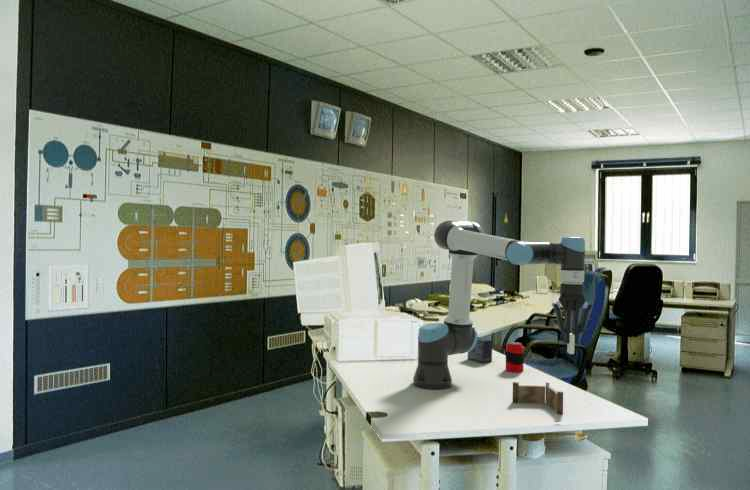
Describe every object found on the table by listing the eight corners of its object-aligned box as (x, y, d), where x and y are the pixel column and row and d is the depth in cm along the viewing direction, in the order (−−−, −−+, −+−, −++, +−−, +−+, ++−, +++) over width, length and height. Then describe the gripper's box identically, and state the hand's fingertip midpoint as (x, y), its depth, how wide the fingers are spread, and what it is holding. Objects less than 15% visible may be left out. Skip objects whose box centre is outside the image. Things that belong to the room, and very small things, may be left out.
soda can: (507, 367, 247) (507, 341, 247) (524, 369, 245) (524, 342, 244) (504, 371, 240) (504, 344, 240) (522, 373, 238) (522, 345, 237)
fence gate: (544, 402, 193) (544, 382, 193) (549, 402, 193) (549, 382, 193) (558, 414, 180) (558, 392, 180) (563, 414, 180) (564, 392, 180)
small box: (492, 361, 259) (493, 339, 259) (482, 363, 256) (483, 340, 255) (476, 357, 268) (477, 336, 268) (466, 359, 264) (467, 337, 264)
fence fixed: (513, 403, 192) (513, 383, 192) (511, 401, 194) (512, 381, 194) (545, 404, 192) (545, 384, 191) (543, 402, 194) (544, 382, 193)
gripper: (556, 283, 181) (554, 355, 182) (596, 284, 181) (594, 356, 181) (549, 281, 189) (547, 350, 189) (587, 282, 188) (586, 351, 189)
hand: (570, 353), depth 185 cm, fingers closed
